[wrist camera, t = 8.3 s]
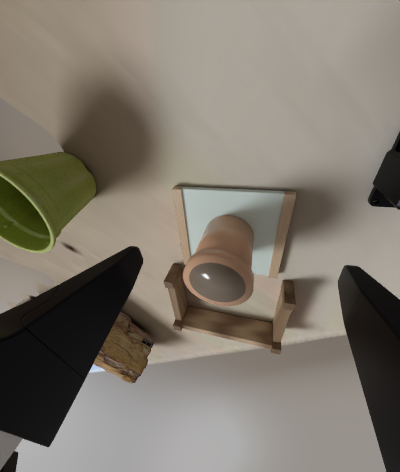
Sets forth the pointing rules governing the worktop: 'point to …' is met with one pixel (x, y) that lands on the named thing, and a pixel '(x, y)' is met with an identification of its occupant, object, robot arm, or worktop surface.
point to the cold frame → (230, 316)
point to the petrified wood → (125, 350)
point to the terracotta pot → (222, 262)
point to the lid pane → (245, 207)
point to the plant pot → (41, 198)
